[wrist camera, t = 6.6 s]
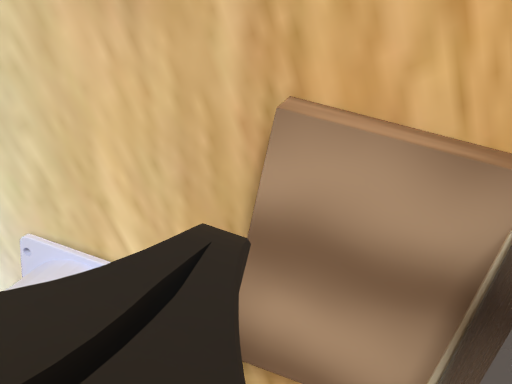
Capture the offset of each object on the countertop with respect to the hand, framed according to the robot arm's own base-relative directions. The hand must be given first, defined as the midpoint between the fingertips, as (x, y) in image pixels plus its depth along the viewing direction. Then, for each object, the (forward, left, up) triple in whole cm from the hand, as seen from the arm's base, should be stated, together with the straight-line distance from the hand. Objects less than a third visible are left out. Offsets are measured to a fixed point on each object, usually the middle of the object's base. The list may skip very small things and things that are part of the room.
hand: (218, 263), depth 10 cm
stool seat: (-3, -6, -8) cm, 10 cm away
